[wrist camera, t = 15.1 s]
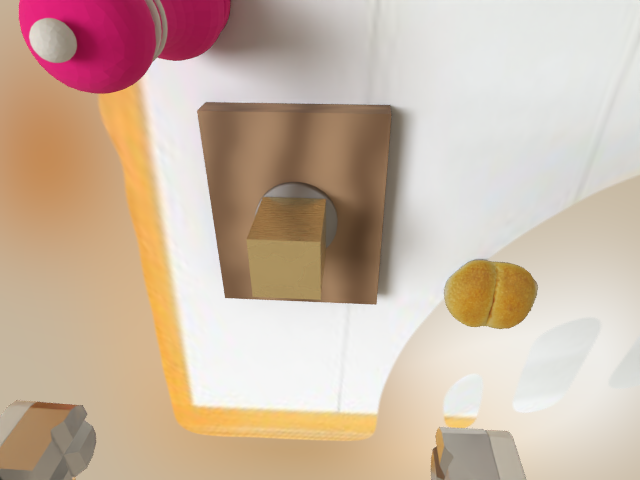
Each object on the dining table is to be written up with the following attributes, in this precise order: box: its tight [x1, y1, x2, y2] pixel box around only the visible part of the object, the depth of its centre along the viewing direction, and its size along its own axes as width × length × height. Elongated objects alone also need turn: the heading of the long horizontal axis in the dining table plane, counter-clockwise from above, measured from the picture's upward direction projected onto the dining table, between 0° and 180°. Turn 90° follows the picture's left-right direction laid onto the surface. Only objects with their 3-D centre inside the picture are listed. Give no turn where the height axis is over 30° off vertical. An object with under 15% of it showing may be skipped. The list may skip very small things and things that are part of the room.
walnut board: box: [197, 102, 392, 304], centre depth 41 cm, size 16×20×10 cm
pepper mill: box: [19, 0, 230, 93], centre depth 27 cm, size 7×7×20 cm
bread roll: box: [444, 260, 538, 329], centre depth 47 cm, size 8×9×4 cm
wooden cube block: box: [246, 197, 326, 300], centre depth 39 cm, size 6×6×7 cm
